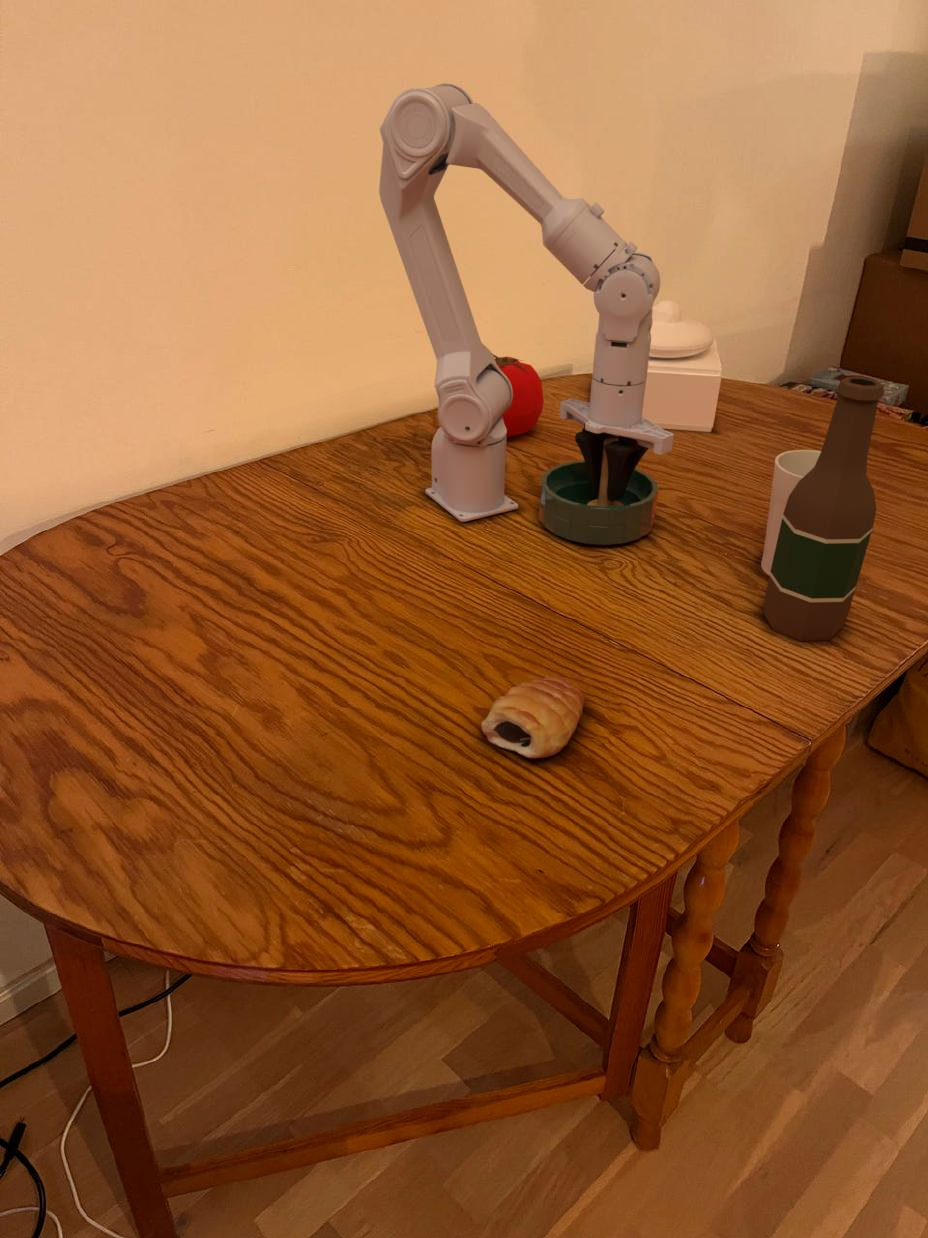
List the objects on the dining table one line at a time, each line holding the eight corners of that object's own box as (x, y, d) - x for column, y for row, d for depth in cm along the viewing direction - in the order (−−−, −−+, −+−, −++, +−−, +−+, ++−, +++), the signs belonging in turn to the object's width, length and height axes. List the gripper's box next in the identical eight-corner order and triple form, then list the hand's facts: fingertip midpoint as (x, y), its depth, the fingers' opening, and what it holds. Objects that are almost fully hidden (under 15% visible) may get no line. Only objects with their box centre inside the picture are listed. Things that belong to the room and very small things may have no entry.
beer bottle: (843, 609, 91) (909, 372, 78) (844, 650, 85) (916, 401, 72) (763, 595, 93) (814, 362, 80) (758, 634, 87) (812, 389, 74)
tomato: (544, 449, 125) (549, 373, 119) (454, 448, 125) (454, 372, 119) (538, 415, 136) (542, 344, 131) (455, 414, 136) (456, 342, 131)
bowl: (517, 512, 109) (519, 473, 106) (606, 490, 114) (610, 452, 112) (582, 559, 99) (586, 518, 97) (676, 533, 105) (682, 493, 102)
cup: (835, 592, 94) (864, 484, 88) (755, 583, 95) (778, 477, 89) (825, 555, 101) (852, 453, 94) (751, 547, 102) (772, 446, 95)
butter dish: (589, 423, 134) (600, 312, 125) (595, 383, 149) (604, 282, 140) (712, 432, 131) (731, 319, 123) (705, 391, 146) (722, 288, 138)
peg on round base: (578, 513, 106) (584, 440, 101) (603, 502, 109) (610, 430, 104) (607, 526, 103) (615, 452, 98) (632, 515, 106) (641, 442, 101)
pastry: (534, 683, 80) (537, 647, 78) (603, 712, 77) (608, 675, 75) (474, 740, 74) (476, 702, 72) (546, 774, 71) (550, 736, 69)
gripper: (543, 368, 99) (536, 483, 107) (649, 403, 90) (634, 526, 98) (586, 356, 103) (577, 467, 111) (692, 388, 94) (674, 507, 102)
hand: (606, 494), depth 105 cm, fingers closed on peg on round base, 2 cm apart
